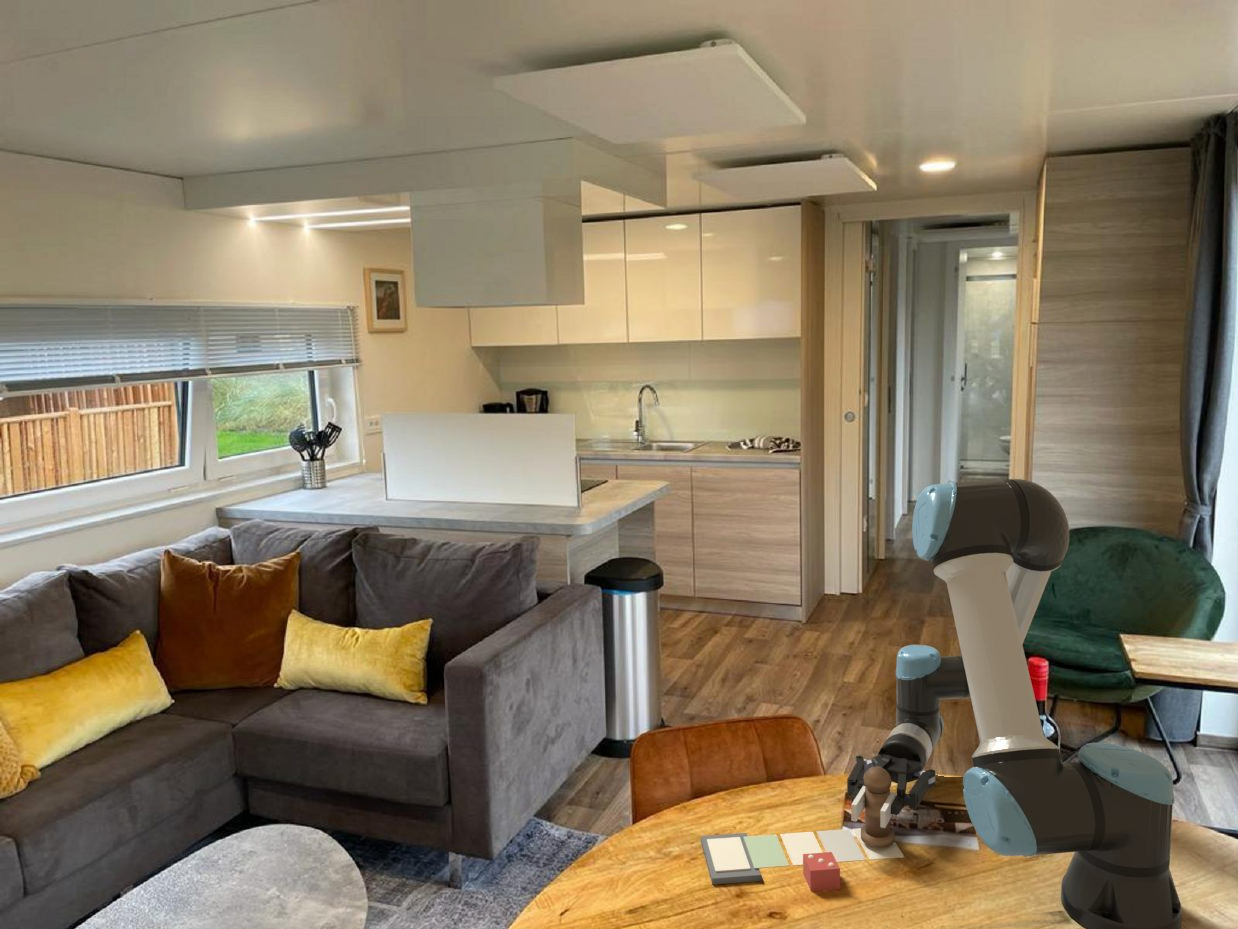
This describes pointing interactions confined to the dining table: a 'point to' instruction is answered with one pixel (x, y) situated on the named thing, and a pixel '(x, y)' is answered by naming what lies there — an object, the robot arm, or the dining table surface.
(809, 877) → the red die
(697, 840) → the dining table surface
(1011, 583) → the robot arm
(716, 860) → the game board
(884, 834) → the pawn
